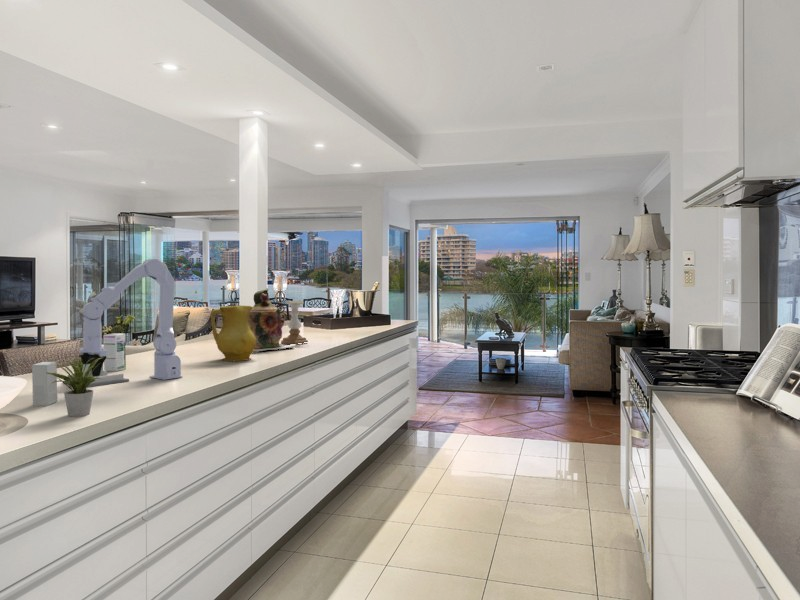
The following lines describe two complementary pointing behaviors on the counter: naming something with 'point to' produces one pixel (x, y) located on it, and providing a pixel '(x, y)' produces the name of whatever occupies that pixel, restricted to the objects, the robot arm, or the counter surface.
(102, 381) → the rail board
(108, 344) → the syrup box
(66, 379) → the house plant
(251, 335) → the pitcher
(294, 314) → the candle holder
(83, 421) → the counter surface
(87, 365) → the block
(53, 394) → the skincare box
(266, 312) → the cookie jar
